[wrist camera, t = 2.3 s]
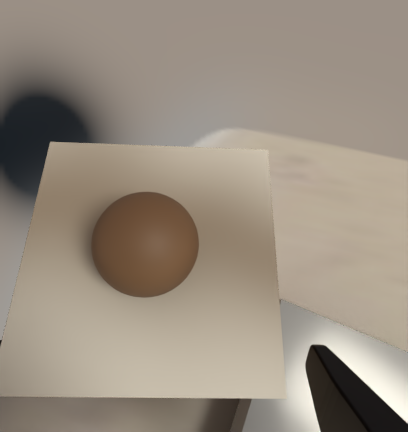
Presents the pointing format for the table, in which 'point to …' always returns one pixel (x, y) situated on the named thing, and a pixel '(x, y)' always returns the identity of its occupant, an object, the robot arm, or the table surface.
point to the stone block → (297, 378)
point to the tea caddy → (147, 277)
